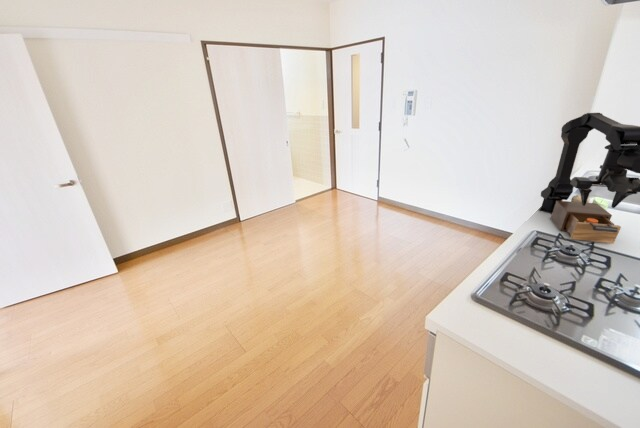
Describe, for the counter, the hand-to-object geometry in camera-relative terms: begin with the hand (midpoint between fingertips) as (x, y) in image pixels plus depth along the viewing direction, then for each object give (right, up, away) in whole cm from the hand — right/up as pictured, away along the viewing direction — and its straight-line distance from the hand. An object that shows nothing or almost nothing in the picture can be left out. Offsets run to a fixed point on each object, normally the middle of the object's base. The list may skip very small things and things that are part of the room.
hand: (597, 206), depth 102 cm
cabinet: (+4, -8, +13) cm, 16 cm away
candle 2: (+19, -4, +20) cm, 28 cm away
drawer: (0, -12, +4) cm, 12 cm away
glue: (+1, -10, +5) cm, 11 cm away
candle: (+11, -4, +21) cm, 24 cm away
